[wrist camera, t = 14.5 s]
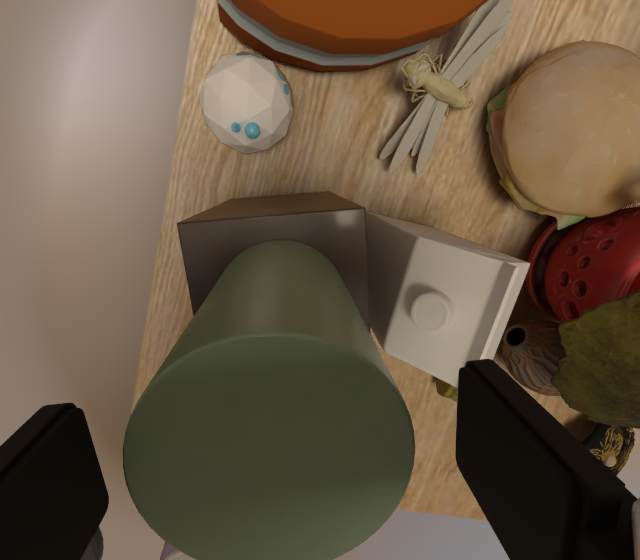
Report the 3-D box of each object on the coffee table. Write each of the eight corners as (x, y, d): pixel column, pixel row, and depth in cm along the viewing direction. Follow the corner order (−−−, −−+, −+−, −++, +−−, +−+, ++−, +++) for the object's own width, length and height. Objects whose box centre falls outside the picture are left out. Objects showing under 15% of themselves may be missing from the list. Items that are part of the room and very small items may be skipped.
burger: (624, 65, 33) (710, -9, 25) (639, 226, 32) (731, 202, 24) (476, 79, 34) (513, 13, 26) (487, 235, 33) (528, 215, 25)
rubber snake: (541, 565, 43) (498, 513, 40) (516, 529, 47) (477, 480, 45) (674, 475, 42) (638, 415, 39) (635, 447, 46) (601, 392, 44)
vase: (618, 390, 33) (568, 353, 30) (543, 414, 37) (490, 383, 34) (585, 327, 38) (538, 289, 34) (521, 354, 42) (473, 322, 38)
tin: (349, 355, 20) (416, 556, 10) (226, 368, 20) (153, 592, 9) (342, 234, 18) (416, 316, 8) (206, 245, 18) (87, 350, 7)
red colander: (505, 326, 39) (594, 389, 28) (522, 199, 36) (634, 212, 24) (620, 321, 40) (753, 380, 29) (649, 198, 37) (813, 209, 25)
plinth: (335, 284, 37) (372, 372, 20) (243, 293, 36) (206, 390, 20) (329, 191, 34) (365, 207, 18) (230, 199, 34) (176, 223, 17)
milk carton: (434, 227, 36) (584, 283, 18) (412, 295, 38) (528, 410, 20) (364, 210, 35) (447, 250, 17) (345, 281, 37) (401, 387, 19)
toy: (394, 158, 38) (428, 188, 35) (336, 142, 31) (373, 177, 29) (502, -2, 30) (553, 23, 28) (454, -68, 23) (517, -42, 21)
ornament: (257, 132, 35) (211, 183, 30) (215, 50, 30) (154, 94, 25) (319, 117, 31) (279, 172, 27) (283, 21, 27) (226, 67, 22)
